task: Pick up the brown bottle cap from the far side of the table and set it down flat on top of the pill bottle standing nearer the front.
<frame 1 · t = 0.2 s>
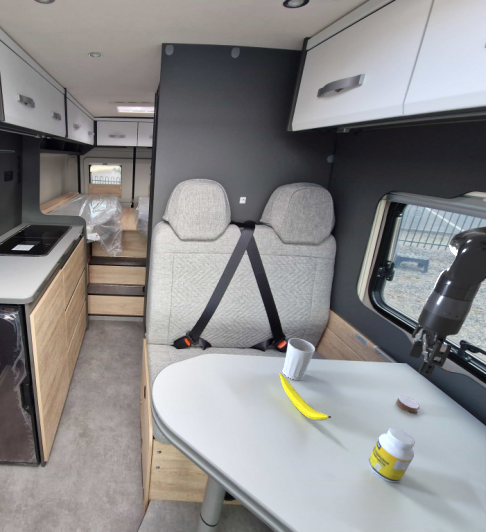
hand: (418, 365, 81), 21 cm above the table, tool pointing down, fingers open, 8 cm apart
banana: (297, 408, 92), on the table
cup: (292, 374, 106), on the table
pill bottle: (383, 470, 75), on the table
brown bottle cap: (406, 406, 95), on the table
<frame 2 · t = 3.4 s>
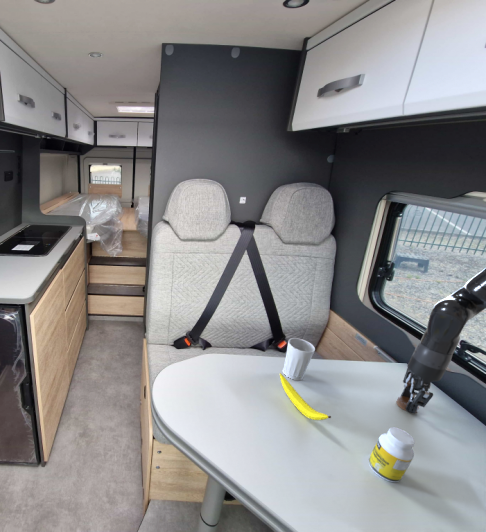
hand: (407, 404, 95), 1 cm above the table, tool pointing down, fingers closed on brown bottle cap, 5 cm apart
brown bottle cap: (406, 406, 95), on the table, touching gripper
everything else where it was.
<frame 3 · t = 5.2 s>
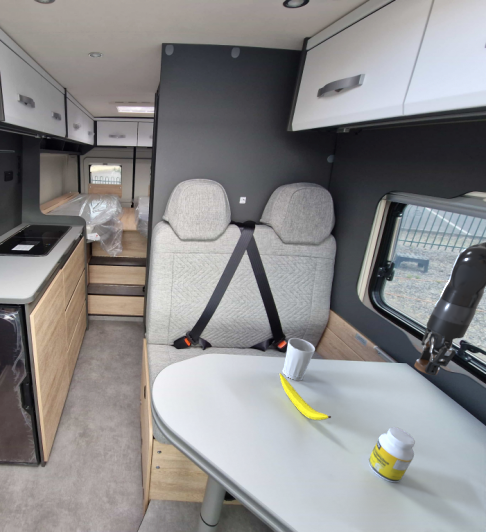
hand: (426, 367, 89), 15 cm above the table, tool pointing down, fingers closed on brown bottle cap, 5 cm apart
brown bottle cap: (425, 369, 89), point 15 cm above the table, touching gripper
everything else where it was.
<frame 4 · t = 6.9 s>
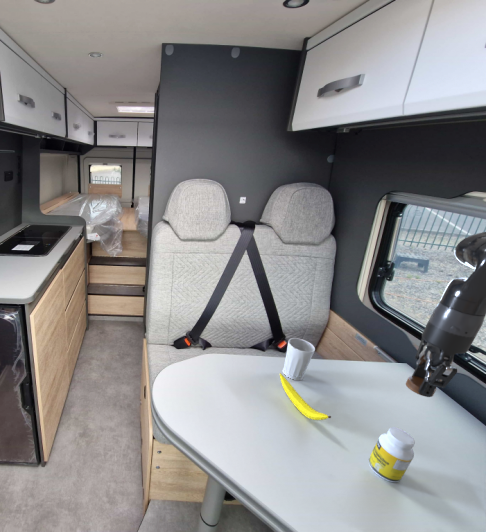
hand: (420, 387, 73), 21 cm above the table, tool pointing down, fingers closed on brown bottle cap, 5 cm apart
brown bottle cap: (419, 389, 73), point 20 cm above the table, touching gripper
everything else where it was.
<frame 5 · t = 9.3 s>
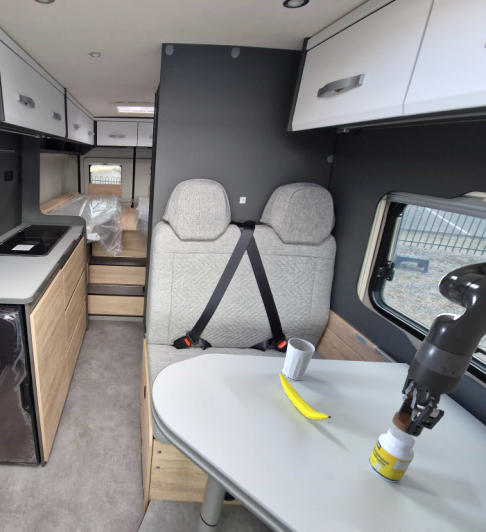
hand: (407, 424, 69), 15 cm above the table, tool pointing down, fingers closed on brown bottle cap, 5 cm apart
brown bottle cap: (406, 426, 70), point 14 cm above the table, touching gripper
everything else where it was.
when the fingers open (12 cm above the table, at t = 10.6 s): brown bottle cap stays where it is, resting on pill bottle.
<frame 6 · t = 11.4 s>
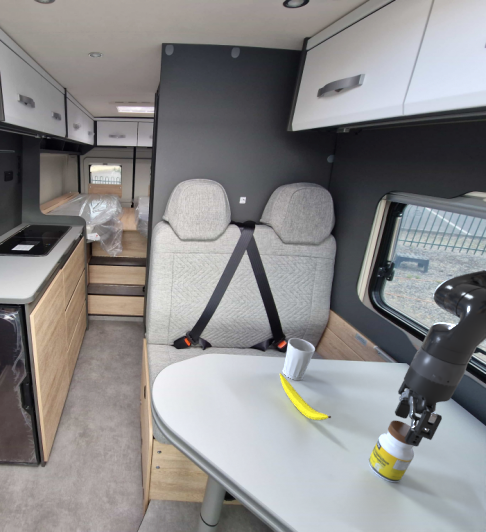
hand: (405, 429, 70), 14 cm above the table, tool pointing down, fingers open, 8 cm apart
pill bottle: (383, 470, 75), on the table, touching brown bottle cap
brown bottle cap: (401, 435, 71), point 12 cm above the table, touching pill bottle
everything else where it was.
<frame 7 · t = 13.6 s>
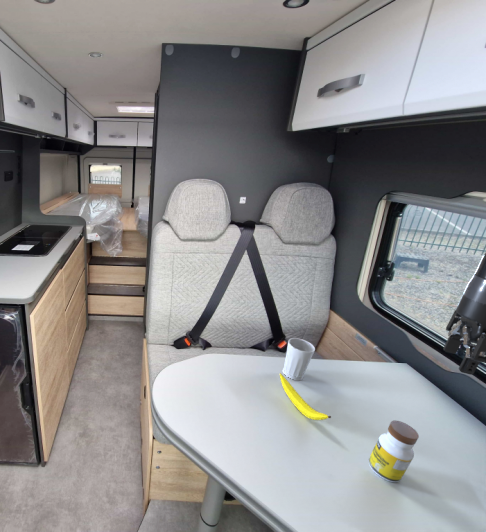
hand: (456, 361, 71), 28 cm above the table, tool pointing down, fingers open, 8 cm apart
nothing on the table moved.
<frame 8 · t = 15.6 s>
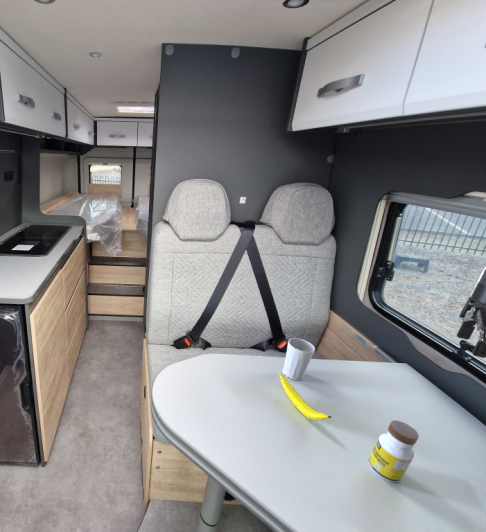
hand: (469, 346, 73), 30 cm above the table, tool pointing down, fingers open, 8 cm apart
nothing on the table moved.
at the end: brown bottle cap 0.1 cm off-centre on the pill bottle, point 11.8 cm above the pill bottle's base; pill bottle tilted 0°; the gripper is holding nothing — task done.
